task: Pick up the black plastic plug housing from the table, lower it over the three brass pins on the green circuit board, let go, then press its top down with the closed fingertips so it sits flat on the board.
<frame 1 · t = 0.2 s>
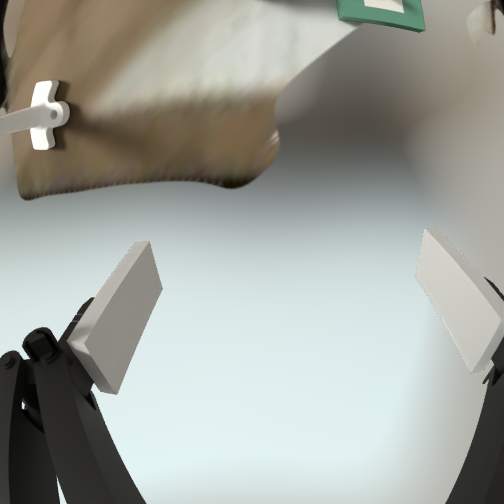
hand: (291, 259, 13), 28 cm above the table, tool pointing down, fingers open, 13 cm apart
joystick: (54, 113, 34), on the table
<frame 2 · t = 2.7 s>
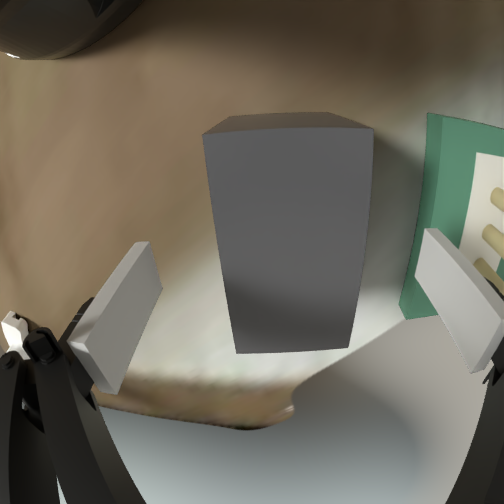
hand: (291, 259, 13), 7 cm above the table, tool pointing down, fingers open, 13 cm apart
plug housing: (283, 197, 19), on the table
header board: (474, 220, 19), on the table
joystick: (36, 343, 30), on the table
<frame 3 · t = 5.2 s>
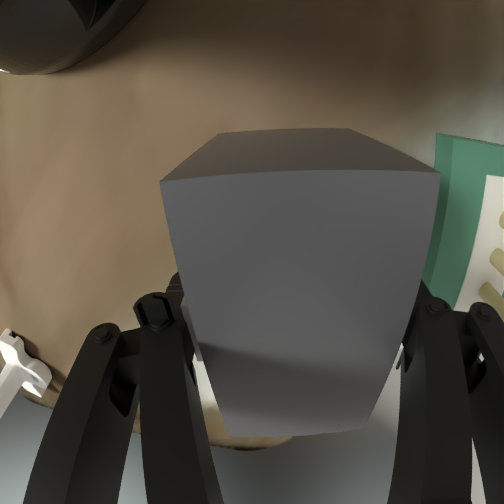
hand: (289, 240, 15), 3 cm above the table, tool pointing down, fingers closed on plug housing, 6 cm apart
plug housing: (288, 237, 15), point 3 cm above the table, touching gripper
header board: (481, 243, 18), on the table
joystick: (32, 361, 29), on the table
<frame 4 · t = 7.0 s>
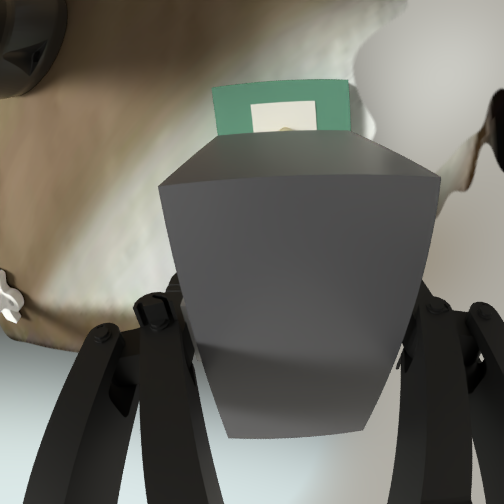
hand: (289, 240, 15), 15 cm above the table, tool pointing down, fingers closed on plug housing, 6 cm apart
plug housing: (288, 239, 15), point 15 cm above the table, touching gripper
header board: (286, 161, 28), on the table
joystick: (12, 292, 39), on the table
when the fingers open (3 cm above the table, at t = 9.1 s): plug housing drops 1 cm, resting on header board.
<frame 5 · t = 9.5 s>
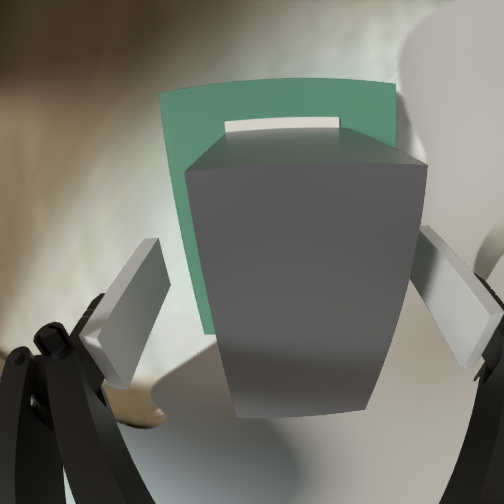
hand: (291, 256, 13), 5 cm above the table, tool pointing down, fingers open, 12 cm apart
plug housing: (292, 229, 16), point 2 cm above the table, touching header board
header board: (285, 214, 18), on the table
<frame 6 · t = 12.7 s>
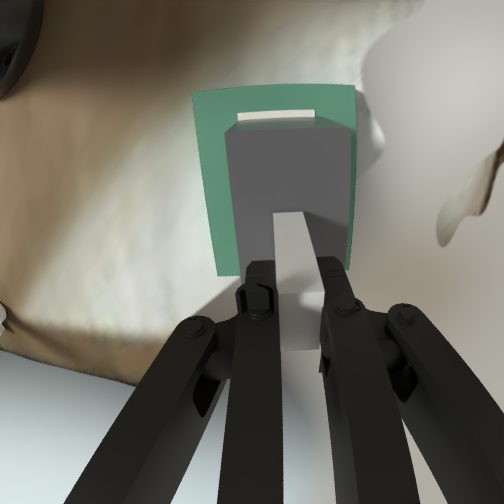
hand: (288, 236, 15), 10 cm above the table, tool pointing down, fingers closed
plug housing: (284, 188, 22), point 2 cm above the table, touching gripper, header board
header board: (279, 180, 24), on the table
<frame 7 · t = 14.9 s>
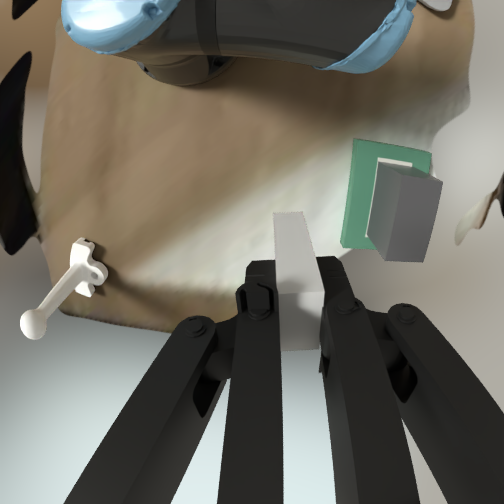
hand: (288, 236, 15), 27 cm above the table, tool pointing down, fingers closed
plug housing: (391, 200, 39), point 2 cm above the table, touching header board
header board: (384, 196, 40), on the table
joystick: (92, 266, 49), on the table
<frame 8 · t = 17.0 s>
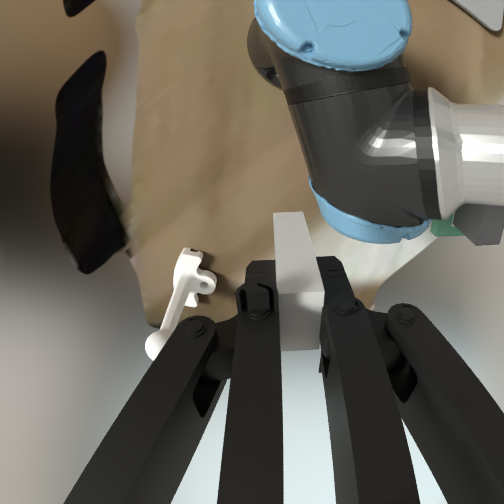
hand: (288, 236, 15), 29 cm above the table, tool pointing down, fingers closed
plug housing: (469, 195, 40), point 2 cm above the table, touching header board
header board: (462, 190, 42), on the table
joystick: (196, 275, 53), on the table
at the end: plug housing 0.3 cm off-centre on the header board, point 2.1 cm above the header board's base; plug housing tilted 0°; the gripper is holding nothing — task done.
